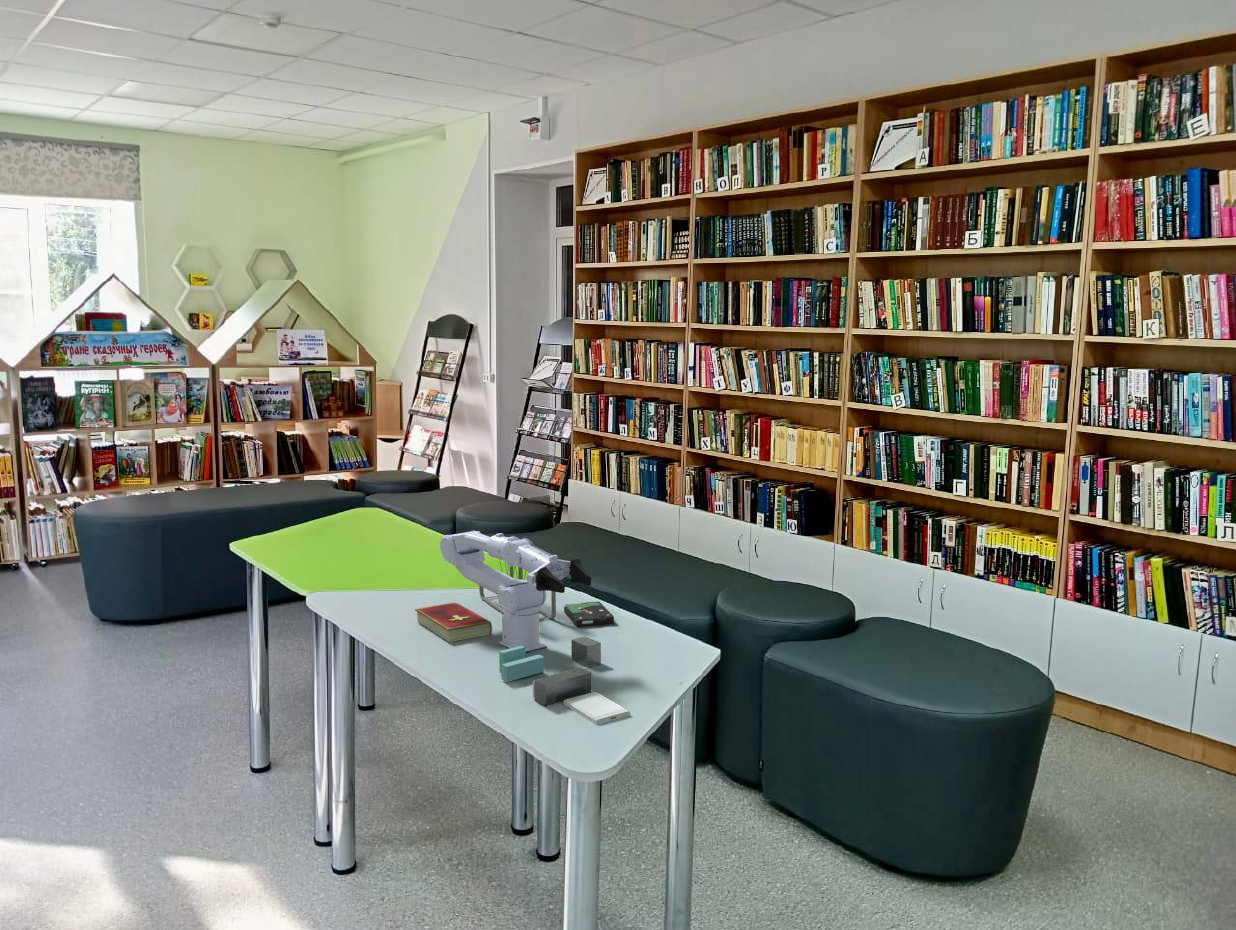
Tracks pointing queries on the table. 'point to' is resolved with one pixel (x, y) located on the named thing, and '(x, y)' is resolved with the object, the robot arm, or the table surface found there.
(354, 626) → the table surface
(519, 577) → the newton's cradle
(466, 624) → the hardcover book
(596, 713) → the hard drive
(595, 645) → the steel block
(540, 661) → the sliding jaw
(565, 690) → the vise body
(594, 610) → the disk drive
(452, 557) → the robot arm
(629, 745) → the table surface
